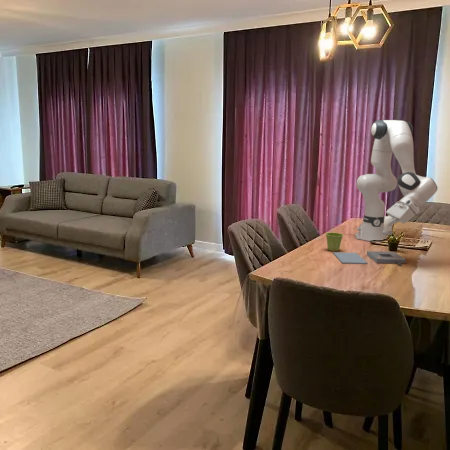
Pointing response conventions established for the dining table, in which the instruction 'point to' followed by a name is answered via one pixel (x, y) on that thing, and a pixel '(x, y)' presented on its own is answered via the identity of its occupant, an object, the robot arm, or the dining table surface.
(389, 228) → the white rounded cylinder
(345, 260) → the rubber mat
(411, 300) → the dining table surface
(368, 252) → the grey square frame
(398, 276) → the dining table surface
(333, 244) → the plant pot
